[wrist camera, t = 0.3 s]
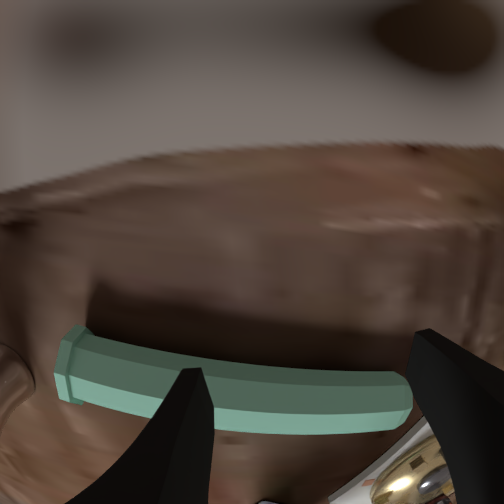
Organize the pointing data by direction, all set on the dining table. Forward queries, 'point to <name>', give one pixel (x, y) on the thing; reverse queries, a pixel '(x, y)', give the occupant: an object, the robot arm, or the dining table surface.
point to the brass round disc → (414, 476)
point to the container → (231, 389)
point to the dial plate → (380, 467)
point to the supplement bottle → (440, 500)
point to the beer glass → (13, 383)
